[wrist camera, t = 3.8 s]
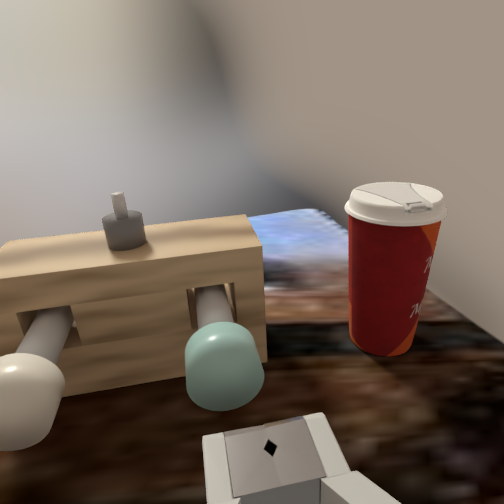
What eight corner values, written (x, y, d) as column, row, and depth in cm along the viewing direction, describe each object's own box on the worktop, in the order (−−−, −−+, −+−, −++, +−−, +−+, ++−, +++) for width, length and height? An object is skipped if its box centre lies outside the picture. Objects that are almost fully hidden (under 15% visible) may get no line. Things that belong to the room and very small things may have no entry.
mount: (267, 361, 36) (262, 245, 31) (17, 405, 33) (-35, 283, 28) (251, 314, 43) (245, 214, 38) (45, 346, 40) (8, 241, 35)
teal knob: (265, 403, 26) (262, 343, 24) (191, 417, 25) (181, 357, 23) (236, 302, 37) (233, 256, 35) (185, 309, 37) (178, 263, 34)
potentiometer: (122, 254, 31) (110, 201, 29) (100, 245, 33) (88, 195, 31) (154, 240, 33) (145, 191, 31) (132, 233, 35) (122, 186, 33)
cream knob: (62, 441, 24) (39, 380, 22) (-26, 458, 23) (-59, 396, 21) (98, 322, 35) (85, 275, 33) (41, 330, 35) (24, 282, 33)
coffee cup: (442, 357, 35) (474, 201, 29) (358, 372, 34) (371, 213, 28) (396, 308, 43) (413, 176, 36) (326, 319, 42) (330, 184, 35)
